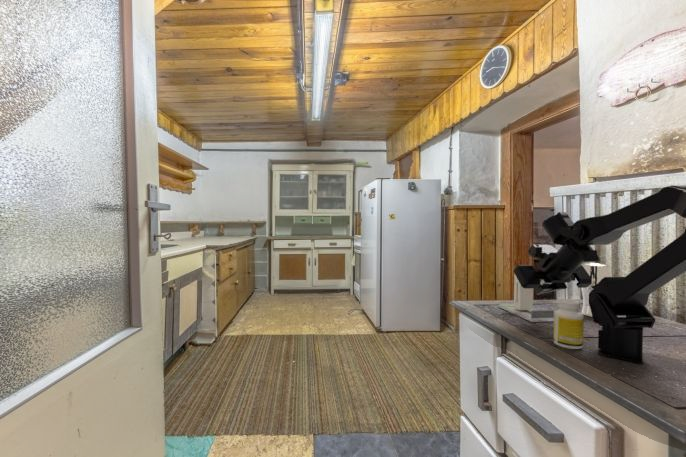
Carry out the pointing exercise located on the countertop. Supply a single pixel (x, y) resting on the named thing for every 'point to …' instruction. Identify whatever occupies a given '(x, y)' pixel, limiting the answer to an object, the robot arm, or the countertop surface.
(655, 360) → the countertop surface
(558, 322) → the supplement bottle
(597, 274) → the beer glass
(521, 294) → the white rectangular canister
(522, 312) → the fader rail
